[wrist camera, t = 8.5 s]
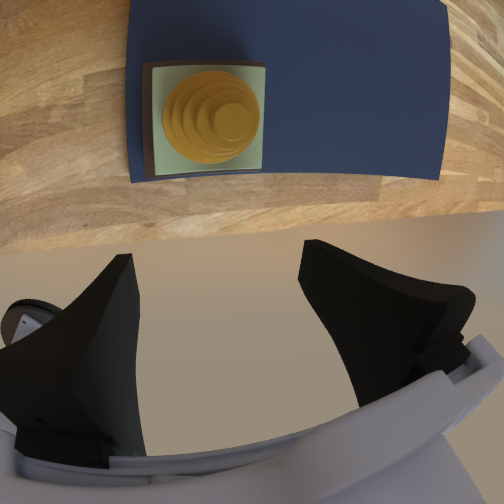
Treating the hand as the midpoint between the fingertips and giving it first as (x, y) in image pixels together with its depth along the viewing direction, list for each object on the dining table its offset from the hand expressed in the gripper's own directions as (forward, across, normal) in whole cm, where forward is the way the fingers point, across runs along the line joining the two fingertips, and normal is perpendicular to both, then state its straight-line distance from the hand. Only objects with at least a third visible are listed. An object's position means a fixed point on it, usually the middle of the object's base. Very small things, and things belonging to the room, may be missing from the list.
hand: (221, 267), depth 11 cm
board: (+10, -10, -13) cm, 19 cm away
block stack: (+9, 0, -6) cm, 11 cm away
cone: (+4, 0, -6) cm, 7 cm away
